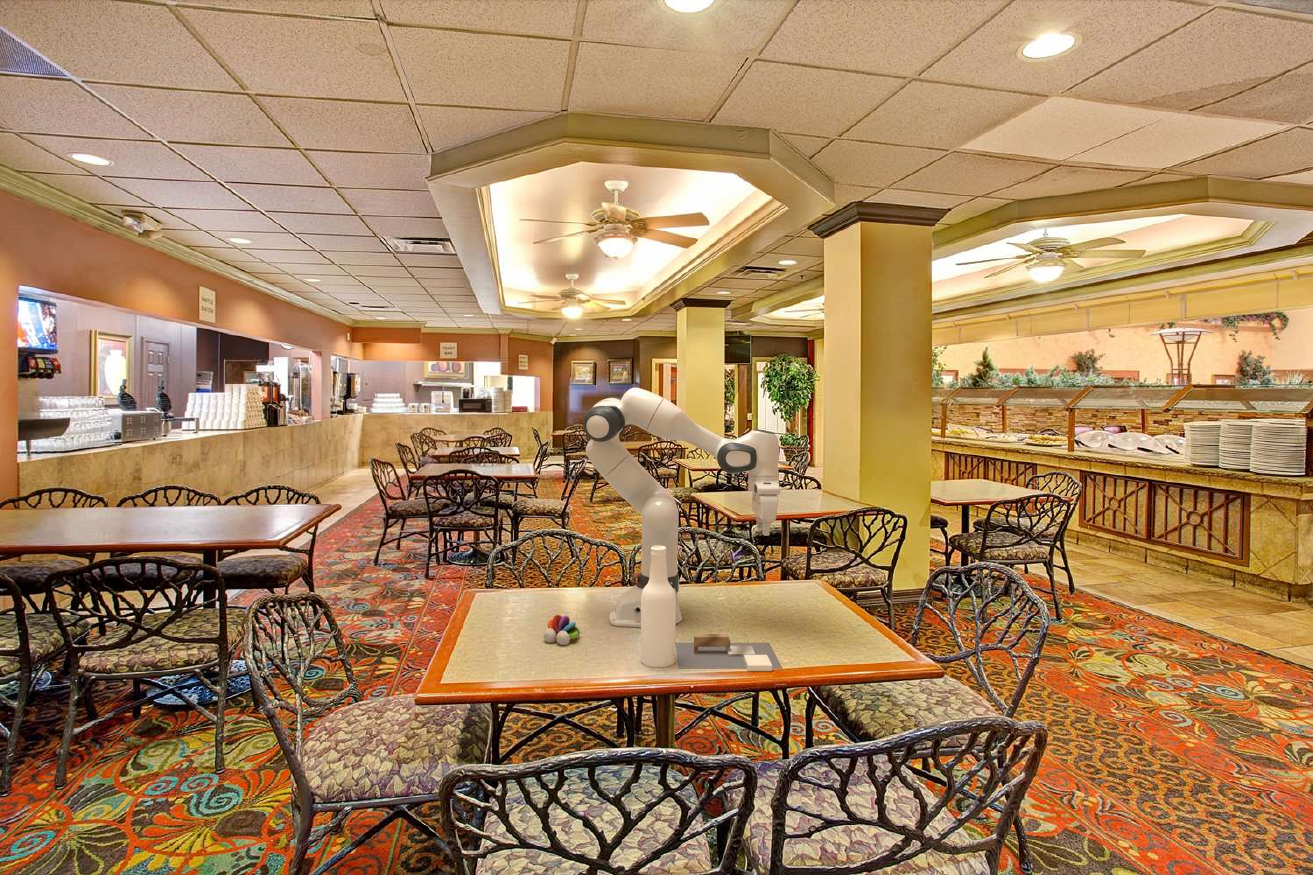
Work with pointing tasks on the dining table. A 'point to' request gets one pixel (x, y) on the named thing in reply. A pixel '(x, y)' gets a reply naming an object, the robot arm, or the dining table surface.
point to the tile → (757, 663)
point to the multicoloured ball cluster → (561, 630)
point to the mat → (720, 656)
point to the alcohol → (658, 614)
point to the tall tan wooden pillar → (720, 644)
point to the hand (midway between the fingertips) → (762, 532)
